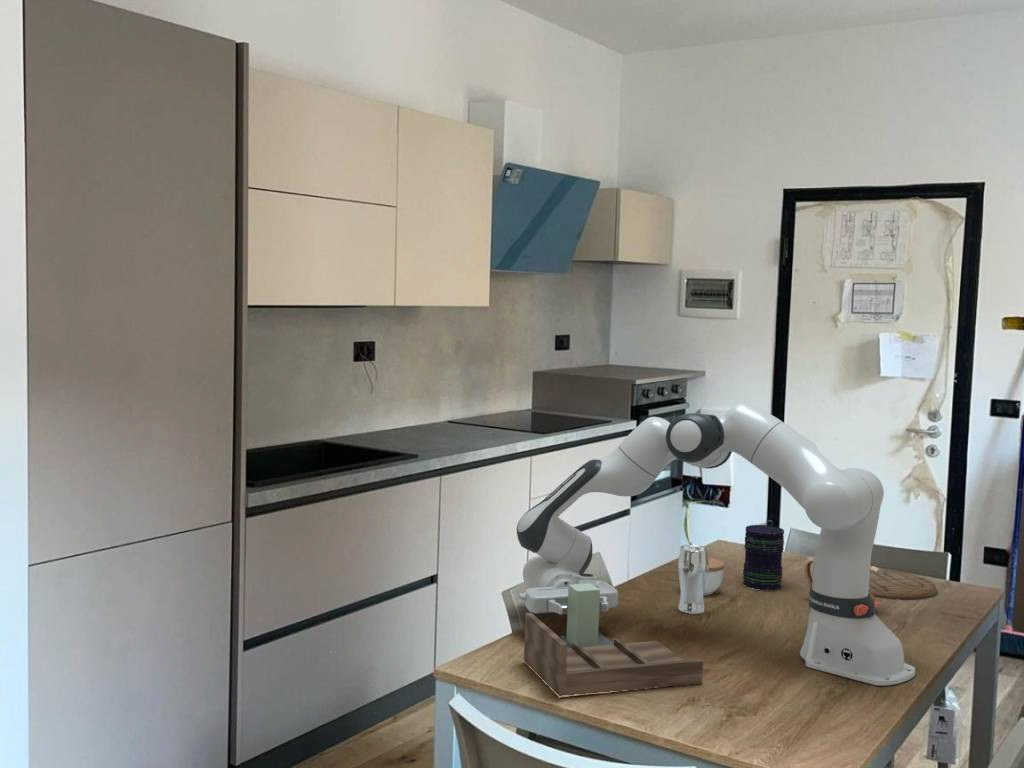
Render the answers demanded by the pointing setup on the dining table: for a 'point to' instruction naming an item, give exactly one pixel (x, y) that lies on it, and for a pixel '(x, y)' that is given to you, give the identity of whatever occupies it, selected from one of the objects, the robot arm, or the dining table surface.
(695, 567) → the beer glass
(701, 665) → the lane shelf
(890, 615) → the dining table surface
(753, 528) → the storage jar
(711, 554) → the dining table surface
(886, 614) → the dining table surface
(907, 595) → the trivet
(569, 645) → the mat
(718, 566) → the lidded jar
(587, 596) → the block
